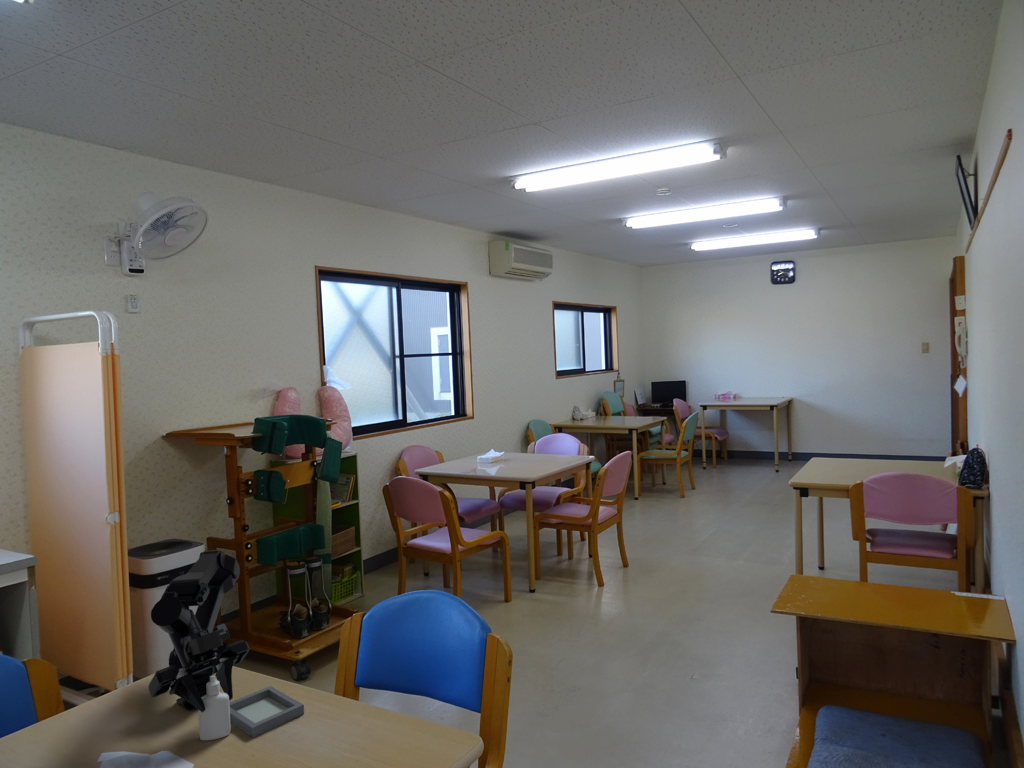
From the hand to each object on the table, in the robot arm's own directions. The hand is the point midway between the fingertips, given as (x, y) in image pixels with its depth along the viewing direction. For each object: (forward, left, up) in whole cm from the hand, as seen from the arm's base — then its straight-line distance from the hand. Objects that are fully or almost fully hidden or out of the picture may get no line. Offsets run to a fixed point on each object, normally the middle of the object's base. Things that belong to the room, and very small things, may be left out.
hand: (217, 704), depth 135 cm
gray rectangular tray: (-1, +10, -7) cm, 12 cm away
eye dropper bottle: (-1, 0, -7) cm, 7 cm away
